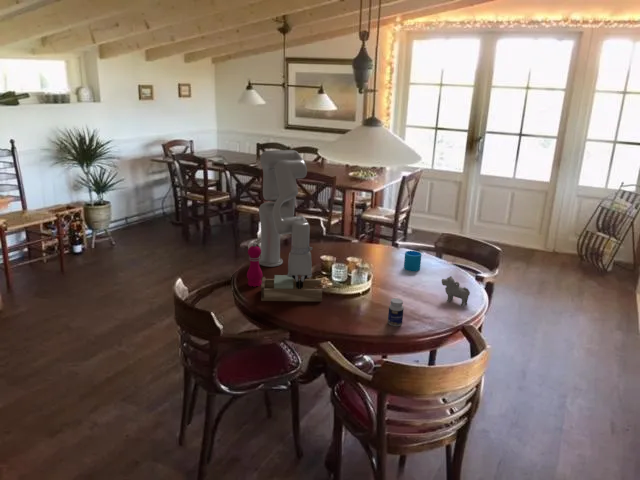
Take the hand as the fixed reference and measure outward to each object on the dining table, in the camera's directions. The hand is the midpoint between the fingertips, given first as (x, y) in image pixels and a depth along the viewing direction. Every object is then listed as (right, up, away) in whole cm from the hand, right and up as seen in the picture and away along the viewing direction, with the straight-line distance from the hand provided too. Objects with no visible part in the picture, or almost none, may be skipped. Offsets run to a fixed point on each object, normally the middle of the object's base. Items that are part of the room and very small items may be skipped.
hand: (299, 288), depth 231 cm
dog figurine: (+68, -6, 0) cm, 68 cm away
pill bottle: (+39, -12, -22) cm, 46 cm away
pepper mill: (-21, +1, +11) cm, 24 cm away
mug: (+56, +7, +38) cm, 68 cm away
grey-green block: (-7, -2, 0) cm, 7 cm away
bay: (-3, -3, +1) cm, 5 cm away
